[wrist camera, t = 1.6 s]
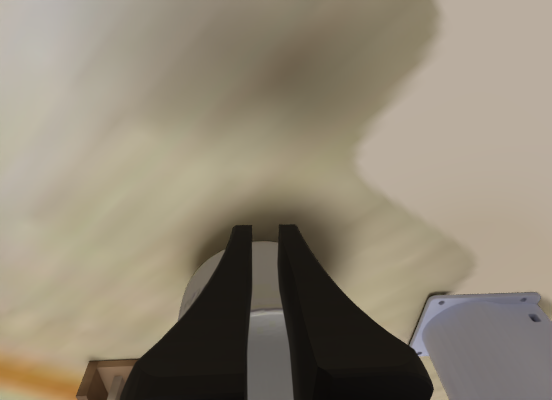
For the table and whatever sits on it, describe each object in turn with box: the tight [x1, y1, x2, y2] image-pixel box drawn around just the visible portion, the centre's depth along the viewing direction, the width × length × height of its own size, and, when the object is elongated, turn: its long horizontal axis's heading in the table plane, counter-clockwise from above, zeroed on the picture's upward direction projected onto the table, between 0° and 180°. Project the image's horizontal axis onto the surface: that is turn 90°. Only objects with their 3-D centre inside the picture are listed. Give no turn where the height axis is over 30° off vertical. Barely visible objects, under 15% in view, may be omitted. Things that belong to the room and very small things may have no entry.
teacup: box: [178, 241, 294, 400], centre depth 24 cm, size 14×11×8 cm
